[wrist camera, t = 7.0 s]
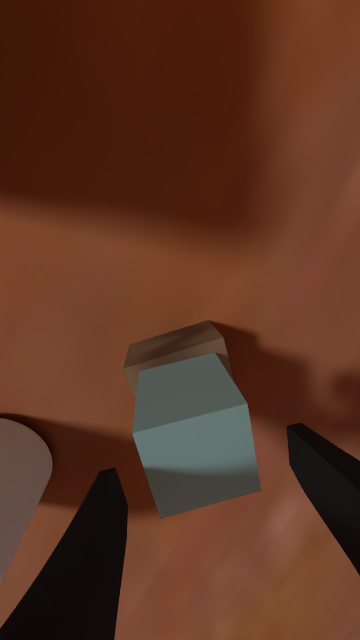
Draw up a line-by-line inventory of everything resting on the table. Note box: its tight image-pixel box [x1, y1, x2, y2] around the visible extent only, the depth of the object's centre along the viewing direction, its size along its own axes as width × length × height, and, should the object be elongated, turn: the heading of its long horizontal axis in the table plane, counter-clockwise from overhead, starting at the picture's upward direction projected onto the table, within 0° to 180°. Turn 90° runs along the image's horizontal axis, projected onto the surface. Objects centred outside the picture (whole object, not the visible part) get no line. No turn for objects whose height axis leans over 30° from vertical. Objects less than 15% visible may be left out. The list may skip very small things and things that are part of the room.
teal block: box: [132, 353, 261, 518], centre depth 12 cm, size 4×4×5 cm
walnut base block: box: [123, 320, 235, 400], centre depth 16 cm, size 6×6×4 cm
